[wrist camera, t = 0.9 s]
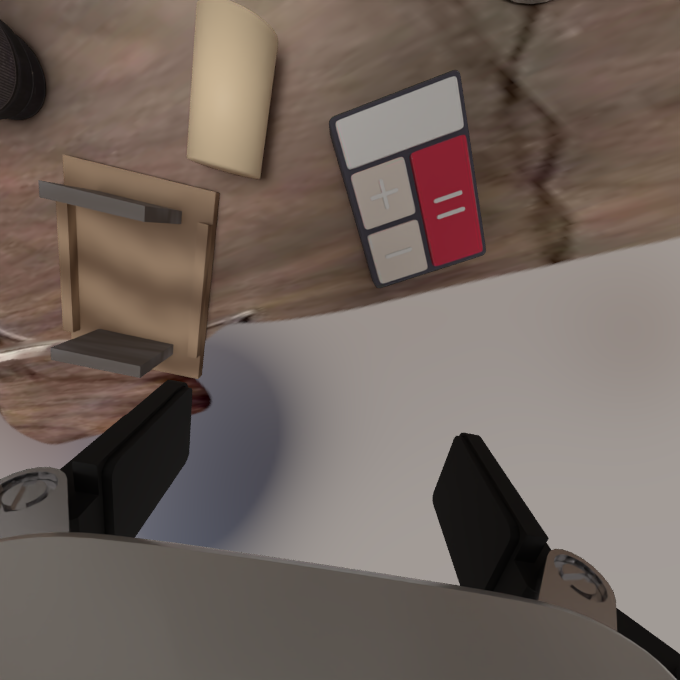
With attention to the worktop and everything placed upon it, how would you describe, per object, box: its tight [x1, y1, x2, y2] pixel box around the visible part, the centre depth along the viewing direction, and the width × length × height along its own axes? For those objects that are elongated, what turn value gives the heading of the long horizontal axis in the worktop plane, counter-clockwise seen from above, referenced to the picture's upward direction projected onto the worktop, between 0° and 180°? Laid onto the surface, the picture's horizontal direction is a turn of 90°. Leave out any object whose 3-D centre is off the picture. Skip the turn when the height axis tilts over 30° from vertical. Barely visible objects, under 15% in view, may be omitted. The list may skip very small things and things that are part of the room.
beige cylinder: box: [187, 0, 278, 179], centre depth 26 cm, size 10×6×6 cm, turn 167°
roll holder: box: [38, 155, 219, 379], centre depth 30 cm, size 20×14×7 cm
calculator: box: [329, 70, 486, 288], centre depth 29 cm, size 11×4×15 cm
